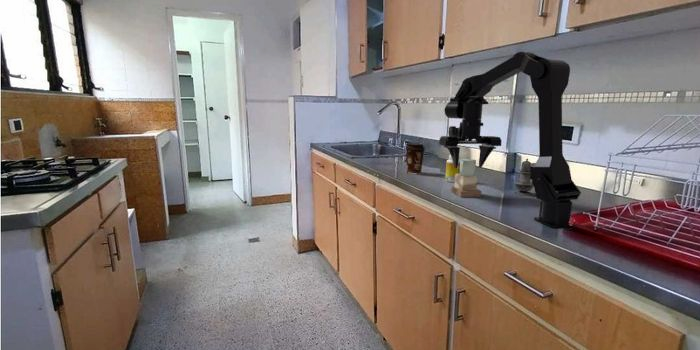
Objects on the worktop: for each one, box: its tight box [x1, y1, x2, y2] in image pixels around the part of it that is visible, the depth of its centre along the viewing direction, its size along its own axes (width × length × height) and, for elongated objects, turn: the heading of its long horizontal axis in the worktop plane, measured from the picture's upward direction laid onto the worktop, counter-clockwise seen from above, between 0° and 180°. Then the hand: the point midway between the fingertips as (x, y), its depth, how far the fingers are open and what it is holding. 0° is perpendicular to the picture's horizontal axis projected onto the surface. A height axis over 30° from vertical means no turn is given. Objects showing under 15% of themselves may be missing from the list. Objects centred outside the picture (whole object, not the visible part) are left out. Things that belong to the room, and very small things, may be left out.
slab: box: [450, 186, 482, 198], centre depth 111 cm, size 7×7×2 cm
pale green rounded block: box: [459, 158, 477, 177], centre depth 110 cm, size 5×5×5 cm
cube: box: [454, 174, 478, 190], centre depth 111 cm, size 5×5×4 cm
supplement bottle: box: [445, 154, 461, 183], centre depth 131 cm, size 6×6×10 cm
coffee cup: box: [405, 142, 426, 175], centre depth 147 cm, size 9×8×13 cm
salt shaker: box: [514, 158, 534, 197], centre depth 112 cm, size 6×6×12 cm
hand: (468, 167), depth 110 cm, fingers open, 8 cm apart
